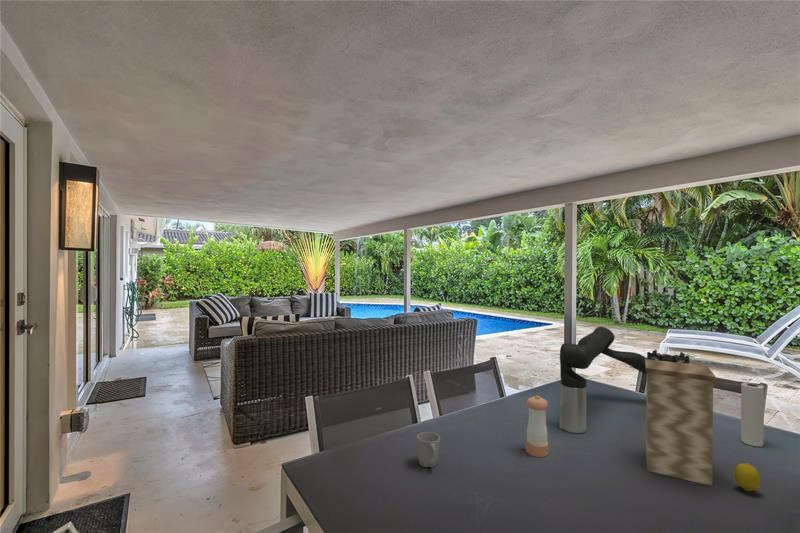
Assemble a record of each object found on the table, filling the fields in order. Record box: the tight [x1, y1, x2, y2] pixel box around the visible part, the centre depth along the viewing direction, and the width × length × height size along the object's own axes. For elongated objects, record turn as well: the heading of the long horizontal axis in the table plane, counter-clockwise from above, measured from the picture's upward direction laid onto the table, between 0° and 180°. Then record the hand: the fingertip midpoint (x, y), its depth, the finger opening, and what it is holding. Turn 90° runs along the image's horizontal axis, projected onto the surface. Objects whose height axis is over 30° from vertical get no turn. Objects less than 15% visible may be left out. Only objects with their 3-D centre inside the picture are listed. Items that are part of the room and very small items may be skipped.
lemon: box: [733, 462, 761, 493], centre depth 110 cm, size 6×6×8 cm
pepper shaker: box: [525, 395, 549, 458], centre depth 132 cm, size 7×7×19 cm
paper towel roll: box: [740, 382, 765, 448], centre depth 140 cm, size 7×6×21 cm
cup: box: [415, 431, 441, 468], centre depth 122 cm, size 8×10×8 cm
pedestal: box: [645, 359, 717, 487], centre depth 122 cm, size 17×15×32 cm
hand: (668, 353), depth 154 cm, fingers open, 8 cm apart
